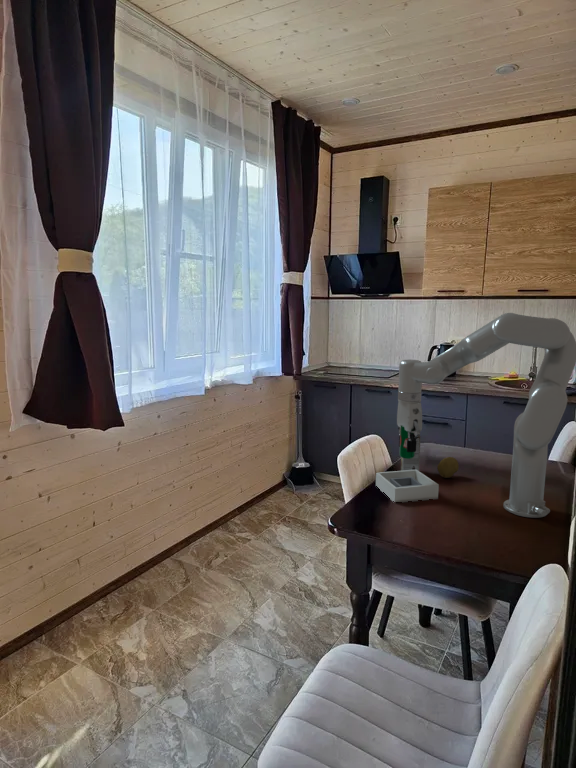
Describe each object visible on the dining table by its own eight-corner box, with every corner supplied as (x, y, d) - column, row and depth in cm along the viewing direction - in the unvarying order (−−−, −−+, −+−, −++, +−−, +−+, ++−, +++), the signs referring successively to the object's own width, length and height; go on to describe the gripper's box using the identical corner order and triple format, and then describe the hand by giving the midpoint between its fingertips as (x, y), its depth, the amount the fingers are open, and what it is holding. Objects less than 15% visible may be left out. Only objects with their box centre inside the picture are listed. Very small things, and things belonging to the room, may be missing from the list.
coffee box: (400, 469, 192) (401, 429, 189) (417, 470, 191) (418, 430, 188) (401, 477, 183) (403, 436, 180) (419, 478, 182) (421, 436, 179)
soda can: (403, 459, 163) (405, 424, 161) (396, 455, 168) (397, 421, 166) (417, 458, 165) (418, 423, 163) (409, 454, 170) (411, 420, 168)
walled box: (438, 498, 163) (438, 484, 162) (394, 503, 159) (395, 488, 158) (415, 482, 178) (416, 469, 177) (375, 486, 174) (376, 472, 173)
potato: (459, 475, 185) (460, 455, 183) (455, 482, 178) (457, 461, 177) (440, 473, 188) (441, 453, 187) (436, 479, 181) (437, 458, 180)
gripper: (432, 401, 156) (429, 456, 159) (408, 391, 172) (406, 441, 175) (411, 402, 154) (408, 457, 157) (388, 392, 170) (386, 443, 173)
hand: (407, 448), depth 166 cm, fingers closed on soda can, 5 cm apart
